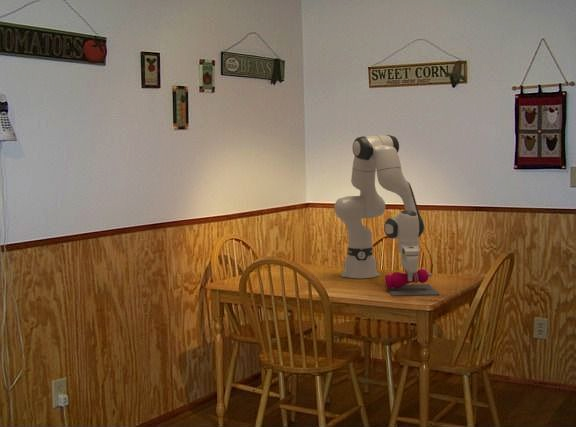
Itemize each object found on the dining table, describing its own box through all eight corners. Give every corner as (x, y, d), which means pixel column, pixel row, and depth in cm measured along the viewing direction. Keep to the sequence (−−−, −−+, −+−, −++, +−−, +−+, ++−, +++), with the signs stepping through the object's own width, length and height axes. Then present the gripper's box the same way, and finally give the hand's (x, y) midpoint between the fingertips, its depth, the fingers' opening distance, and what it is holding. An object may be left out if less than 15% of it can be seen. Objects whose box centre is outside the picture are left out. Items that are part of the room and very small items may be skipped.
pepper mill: (386, 276, 338) (432, 268, 338) (383, 272, 345) (428, 264, 345) (388, 292, 340) (434, 284, 340) (386, 287, 347) (431, 280, 347)
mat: (384, 286, 354) (384, 285, 354) (429, 285, 354) (429, 284, 354) (392, 296, 332) (392, 294, 332) (439, 295, 332) (439, 293, 332)
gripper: (397, 245, 352) (397, 275, 353) (405, 251, 331) (405, 284, 333) (411, 244, 352) (411, 275, 353) (420, 251, 331) (420, 283, 333)
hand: (408, 279), depth 343 cm, fingers closed on pepper mill, 4 cm apart
